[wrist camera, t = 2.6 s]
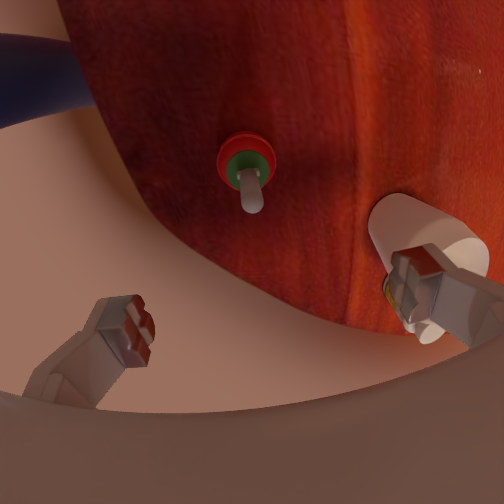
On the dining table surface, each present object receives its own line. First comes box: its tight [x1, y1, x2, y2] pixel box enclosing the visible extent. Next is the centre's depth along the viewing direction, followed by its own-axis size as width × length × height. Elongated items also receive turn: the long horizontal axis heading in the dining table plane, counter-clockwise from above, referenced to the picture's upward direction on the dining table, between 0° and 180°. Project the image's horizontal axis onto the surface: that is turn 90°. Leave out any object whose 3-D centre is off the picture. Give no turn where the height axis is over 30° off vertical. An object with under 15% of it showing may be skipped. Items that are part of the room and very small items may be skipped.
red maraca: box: [216, 131, 277, 213], centre depth 20 cm, size 5×5×12 cm
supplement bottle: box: [383, 275, 446, 344], centre depth 29 cm, size 5×5×10 cm
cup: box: [368, 193, 489, 324], centre depth 24 cm, size 9×9×12 cm
